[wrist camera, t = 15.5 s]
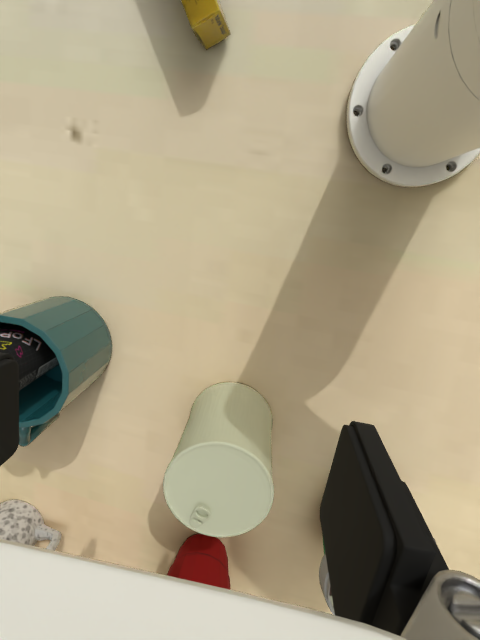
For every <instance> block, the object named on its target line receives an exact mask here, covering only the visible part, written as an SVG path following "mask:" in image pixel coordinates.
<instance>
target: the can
mask: <svg viewBox="0 0 480 640" xmlns="http://www.w3.org/2000/svg"><path fill="white" fill-rule="evenodd" d="M271 430H272V413H271V410H270V407H269V405H268V403H267V402H266V400H265V399H264V398H263V397H262V395H261V394H259V393H258V392H257V391H256V390H254V389H253V388H251V387H249V386H247V385H244V384H240V383H235V382H224V383H219V384H215V385H213V386H210V387H209V388H207V389H205V390H204V391H203V392H202V393H201V394H200V395H199V396H198V397H197V398H196V400H195V401H194V403H193V406H192V408H191V413H190V417H189V420H188V422H187V425H186V427H185V430H184V432H183V434H182V437H181V439H180V442H179V444H178V447H177V449H176V451H175V453H174V456H173V458H172V460H171V462H170V464H169V465H168V467H167V470H166V472H165V475H164V481H163V491H164V497H165V500H166V503H167V505H168V507H169V509H170V510H171V512H172V513H173V514H174V516H175V517H176V518H177V519H178V520H179V521H180V522H181V523H183V524H184V525H185V526H187V527H188V528H190V529H191V530H193V531H196V532H198V533H201V534H204V535H207V536H212V537H233V536H237V535H241V534H244V533H246V532H248V531H250V530H252V529H254V528H255V527H256V526H258V525H259V524H260V523H261V522H262V521H263V520H264V519H265V517H266V516H267V515H268V513H269V511H270V509H271V506H272V503H273V498H274V486H273V480H272V453H271Z"/></svg>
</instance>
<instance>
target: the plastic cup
mask: <svg viewBox="0 0 480 640" xmlns="http://www.w3.org/2000/svg"><path fill="white" fill-rule="evenodd" d="M167 576H172V577H176V578H180V579H185V580H189V581H194V582H198V583H203V584H207V585H212V586H216V587H220V588H225V589H229V590H230V579H229V575H228V558H227V553H226V550H225V546H224V545H223V544H222V542H221V541H220V540H219V539H217V538H215V537H212V536H207V535H204V534H196V535H193V536H191V537H189V538H187V540H186V541H185V542H184V544H183V545H182V546H181V548H180V550H179V552H178V554H177V556H176V558H175V560H174V563H173V564H172V565H171V567H170V569H169V571H168V574H167Z"/></svg>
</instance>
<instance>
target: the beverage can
mask: <svg viewBox="0 0 480 640" xmlns="http://www.w3.org/2000/svg"><path fill="white" fill-rule="evenodd" d="M0 352H1V353H6V354H11V355H12V356H13V357H14V360H15V361H17V362H18V365H19V391H20V390H21V389H23V388H24V387H26V386H27V385H29V384H30V383H32V382H33V381H35V380H36V379H38V378H39V377H41V376H42V375H44V374H45V373H47V372H49V371H50V370H52V369H53V368H55V367H56V366H58V365H59V363H58V360H57V357H56V355H55V353H54V352H53V351H52V350H51V348H50V347H49V346H48V345H47V344H46V343H45V341H44V340H43V339H42V338H41V337H40V336H38V335H37V334H35V333H33V332H31V331H30V330H28V329H26V328H24V327H23V326H21V325H15V324H10V325H7V326H5V327H2V328H0Z"/></svg>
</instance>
